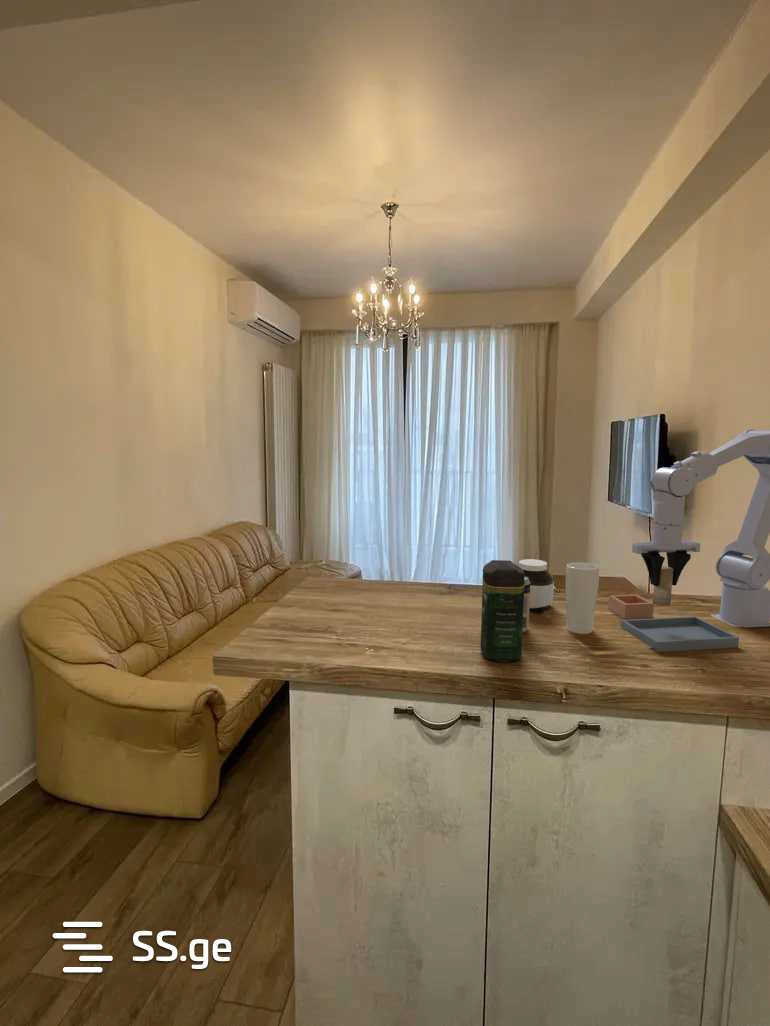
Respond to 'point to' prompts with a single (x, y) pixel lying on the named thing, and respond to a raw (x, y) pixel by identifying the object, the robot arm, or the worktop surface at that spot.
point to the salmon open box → (630, 606)
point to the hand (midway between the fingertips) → (663, 584)
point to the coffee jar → (502, 611)
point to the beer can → (526, 605)
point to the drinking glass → (581, 596)
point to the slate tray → (680, 634)
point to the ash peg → (664, 587)
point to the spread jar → (538, 584)
